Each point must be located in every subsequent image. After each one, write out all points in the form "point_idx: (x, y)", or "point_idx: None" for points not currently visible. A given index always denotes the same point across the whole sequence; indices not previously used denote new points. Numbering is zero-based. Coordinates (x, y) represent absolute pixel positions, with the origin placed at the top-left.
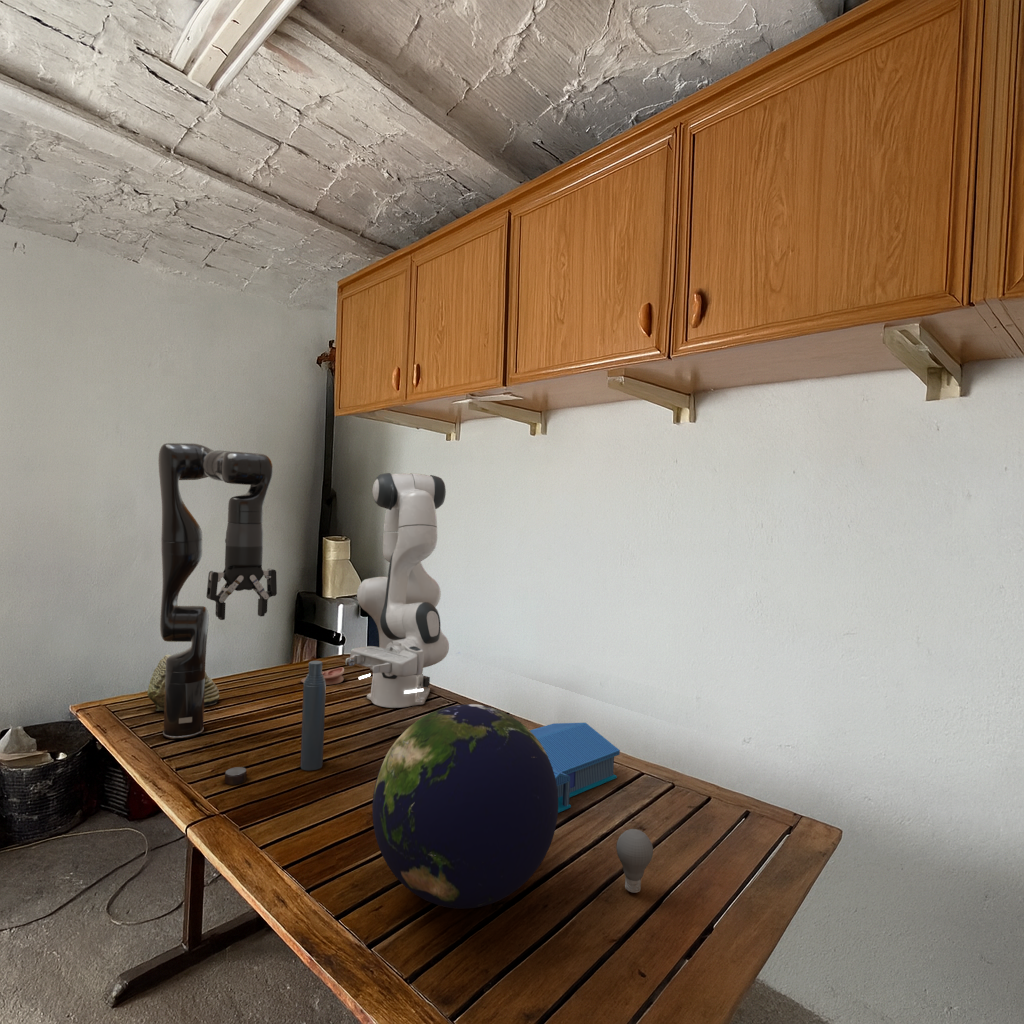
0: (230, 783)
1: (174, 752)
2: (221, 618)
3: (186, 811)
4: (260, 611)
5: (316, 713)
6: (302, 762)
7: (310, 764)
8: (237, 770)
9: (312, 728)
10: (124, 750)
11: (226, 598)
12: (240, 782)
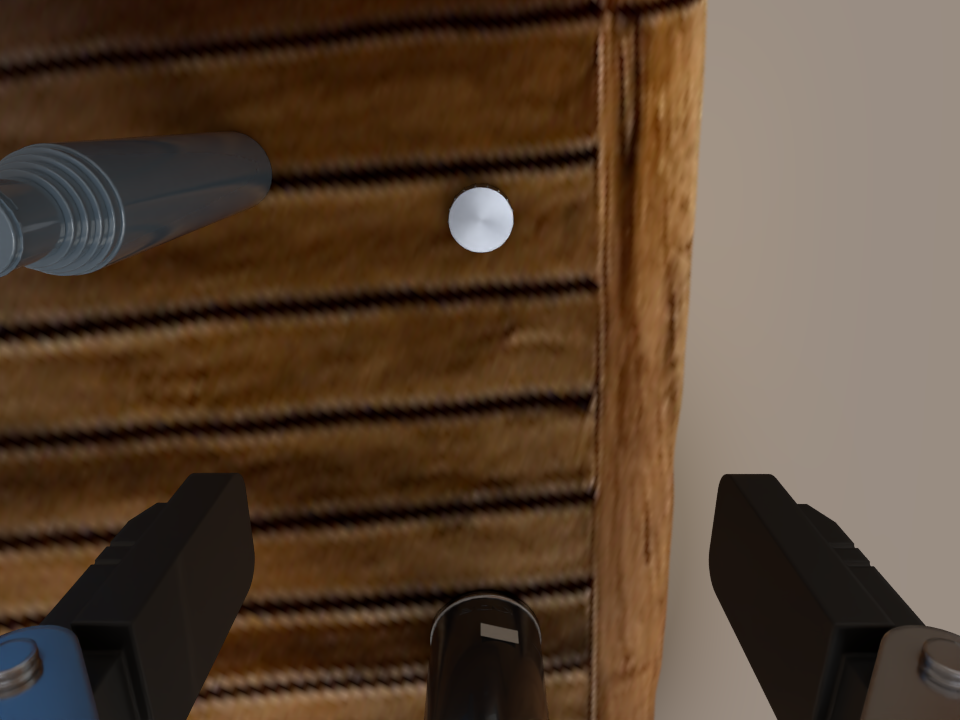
0: (504, 195)
1: (552, 519)
2: (770, 483)
3: (673, 94)
4: (224, 534)
5: (140, 138)
6: (263, 166)
7: (243, 137)
8: (475, 222)
9: (186, 142)
10: (652, 602)
11: (870, 688)
12: (476, 184)
